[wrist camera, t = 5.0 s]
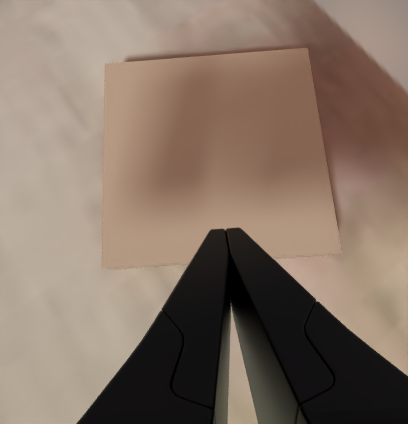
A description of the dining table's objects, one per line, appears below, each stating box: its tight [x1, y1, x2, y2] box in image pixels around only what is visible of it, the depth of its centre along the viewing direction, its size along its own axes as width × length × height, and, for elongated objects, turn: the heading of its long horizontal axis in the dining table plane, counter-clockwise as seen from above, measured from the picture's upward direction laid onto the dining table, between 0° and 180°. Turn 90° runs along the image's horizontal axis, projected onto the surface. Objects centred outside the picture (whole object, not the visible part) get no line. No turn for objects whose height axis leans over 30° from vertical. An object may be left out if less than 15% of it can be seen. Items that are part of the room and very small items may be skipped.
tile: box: [102, 48, 342, 270], centre depth 18 cm, size 2×12×12 cm
